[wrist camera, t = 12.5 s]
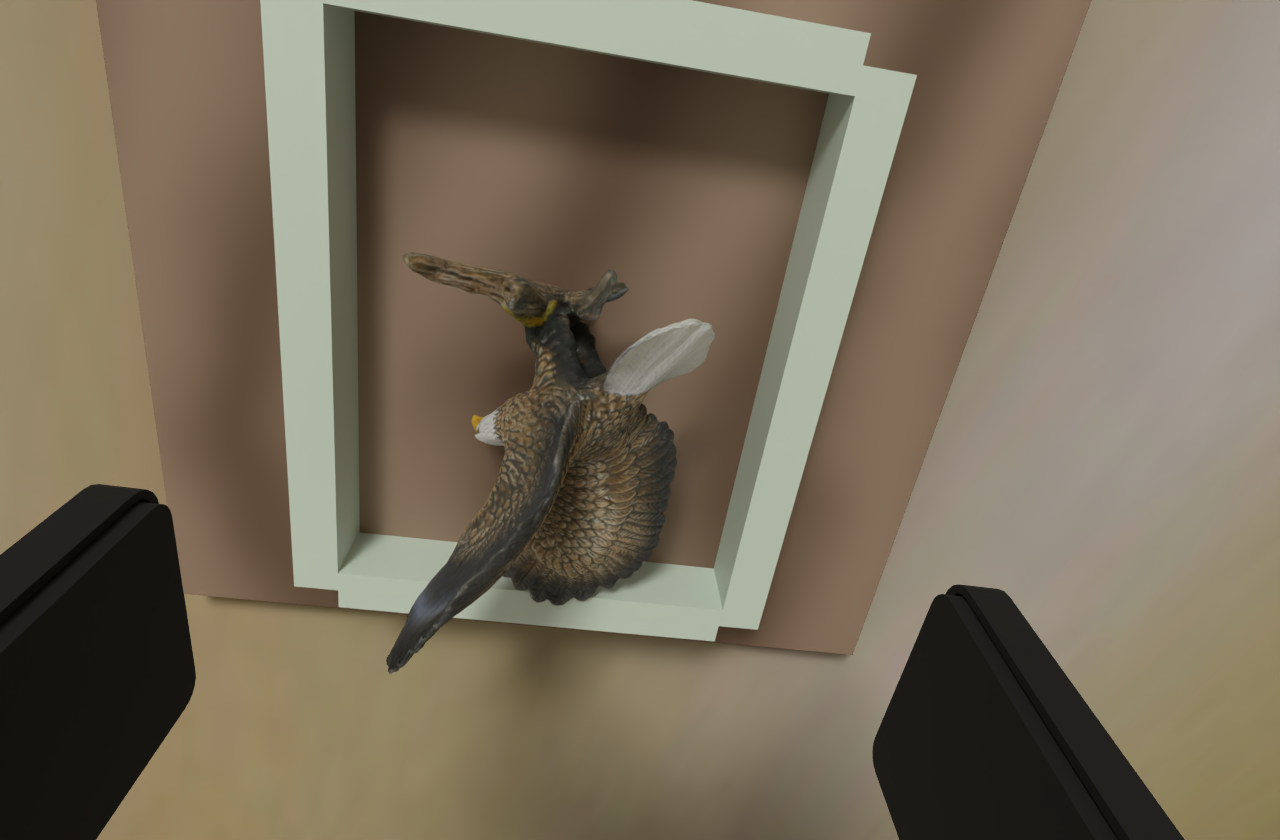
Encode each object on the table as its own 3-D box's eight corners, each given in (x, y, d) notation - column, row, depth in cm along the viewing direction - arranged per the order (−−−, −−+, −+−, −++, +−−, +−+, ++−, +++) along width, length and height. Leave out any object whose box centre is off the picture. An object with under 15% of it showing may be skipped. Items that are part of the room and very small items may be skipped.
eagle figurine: (348, 271, 18) (334, 640, 18) (466, 219, 12) (442, 764, 12) (610, 309, 22) (596, 602, 22) (786, 283, 16) (765, 679, 17)
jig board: (1069, -5, 18) (1153, -18, 15) (843, 634, 26) (871, 700, 23) (97, -196, 15) (-12, -252, 13) (196, 573, 24) (143, 638, 21)
